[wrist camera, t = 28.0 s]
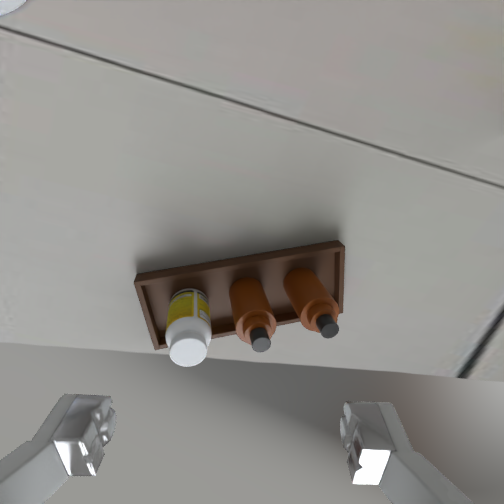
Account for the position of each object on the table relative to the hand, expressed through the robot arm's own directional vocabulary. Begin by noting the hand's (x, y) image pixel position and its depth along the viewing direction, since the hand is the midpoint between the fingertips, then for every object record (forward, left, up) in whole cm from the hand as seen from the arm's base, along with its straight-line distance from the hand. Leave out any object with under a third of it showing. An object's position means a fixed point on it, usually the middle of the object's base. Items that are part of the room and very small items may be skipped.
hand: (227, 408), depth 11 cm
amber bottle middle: (+11, -13, -34) cm, 38 cm away
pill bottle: (+3, -18, -34) cm, 39 cm away
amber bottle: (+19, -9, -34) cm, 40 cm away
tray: (+11, -13, -35) cm, 39 cm away
